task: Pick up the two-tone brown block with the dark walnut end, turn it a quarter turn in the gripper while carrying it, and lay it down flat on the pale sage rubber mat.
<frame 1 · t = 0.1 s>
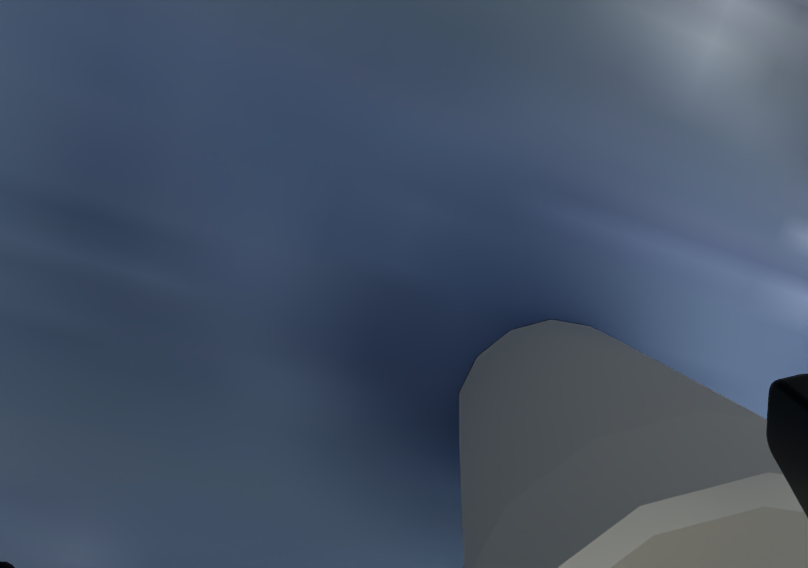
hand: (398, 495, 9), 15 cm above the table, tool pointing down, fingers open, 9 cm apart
foam cup: (547, 405, 26), on the table
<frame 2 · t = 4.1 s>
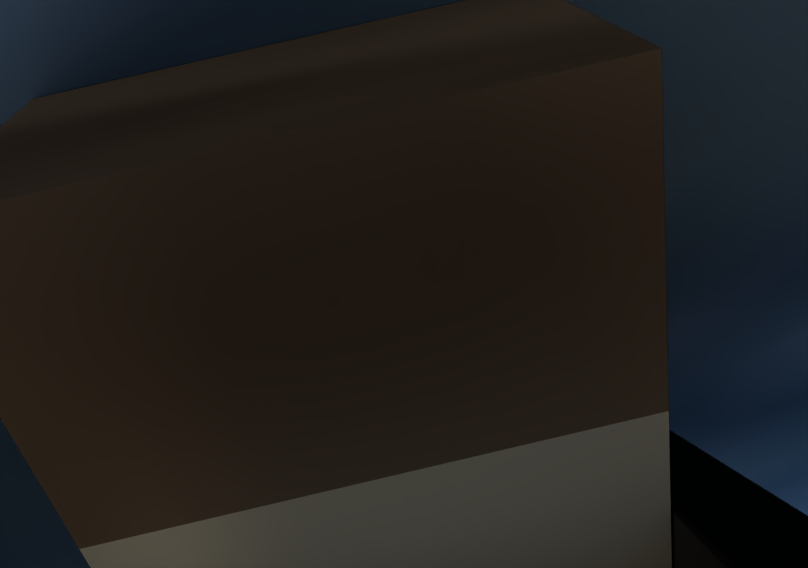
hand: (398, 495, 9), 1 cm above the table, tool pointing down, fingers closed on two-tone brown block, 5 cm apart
two-tone brown block: (387, 426, 10), on the table, touching gripper
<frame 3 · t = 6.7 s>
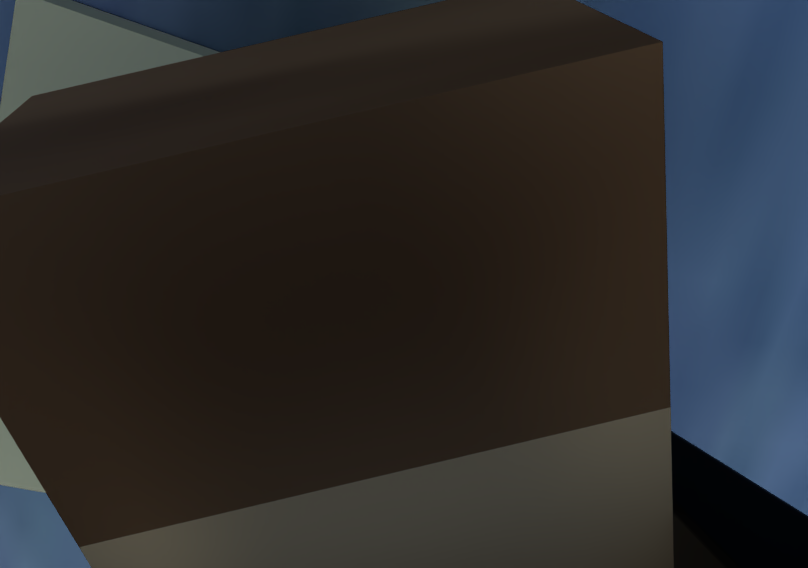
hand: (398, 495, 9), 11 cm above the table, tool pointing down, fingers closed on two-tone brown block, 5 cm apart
mat: (253, 322, 20), on the table
two-tone brown block: (388, 424, 10), point 10 cm above the table, touching gripper
when the fingers open (3 cm above the table, at t = 9.3 s): two-tone brown block drops 1 cm, resting on mat.
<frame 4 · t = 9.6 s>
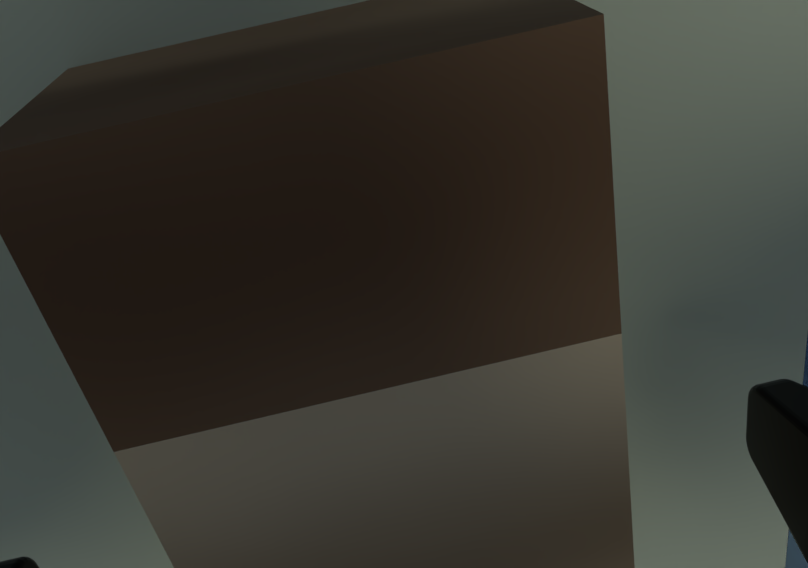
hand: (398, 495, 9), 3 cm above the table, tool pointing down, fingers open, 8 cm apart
mat: (372, 344, 11), on the table
two-tone brown block: (381, 373, 11), point 1 cm above the table, touching mat
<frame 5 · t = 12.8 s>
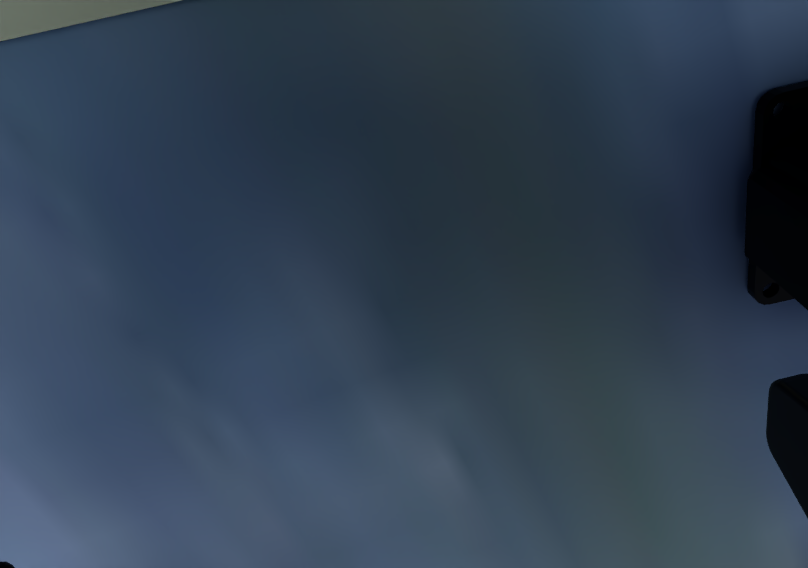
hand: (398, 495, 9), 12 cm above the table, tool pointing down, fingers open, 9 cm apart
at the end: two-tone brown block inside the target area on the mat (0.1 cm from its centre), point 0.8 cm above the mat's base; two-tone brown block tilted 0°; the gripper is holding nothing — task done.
